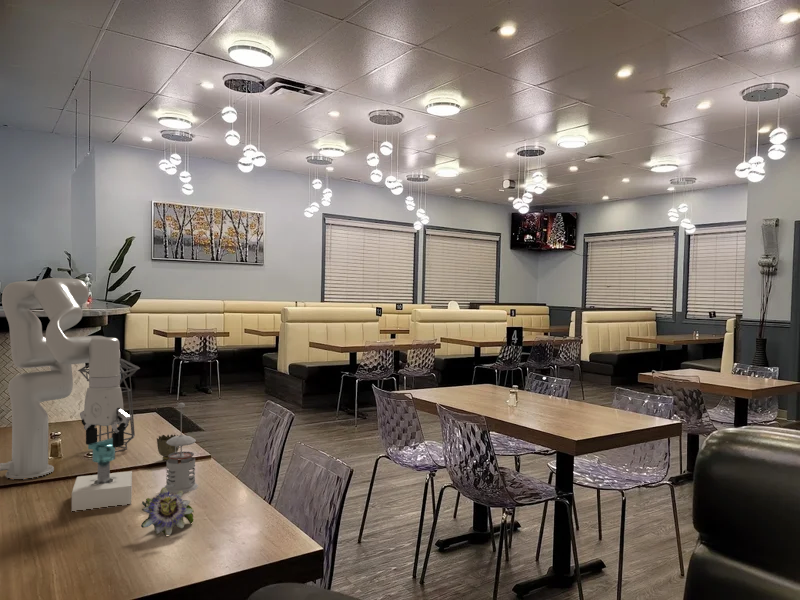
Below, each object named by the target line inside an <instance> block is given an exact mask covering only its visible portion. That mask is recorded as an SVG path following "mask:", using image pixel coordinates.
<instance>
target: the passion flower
mask: <svg viewBox="0 0 800 600" xmlns="http://www.w3.org/2000/svg"><path fill="white" fill-rule="evenodd" d="M164 487H165V486H163V487H162V488H161V489H160V490H159V491H160V492H159V493H158V495H156V496H155V497H153V498H149V497H147V498H145V500H144V501H145V502H144V501H143V500H142V501H141V502H142V503H141V504H142V505H143V506H144V507H143V508H142V509H141V511H142V512H144V513H146V514H148V517H147V518H146V519H145V520H143V522H141V526H140V527H141V528H148V527H149V526H151V525H153V526H154V533H155V535H156V536H158V535H160V534H161V533H163V534H164V536H165V535H170V534H171V535H172V532H173V528H174V527H177V528H178V529H184V527H185V522H184V518H185V519H186V520H187V521H188V522H189V524H191V523H192V522H194V520H195V519H194V514H193V513H195V512H194V508H193V507H192V506H191V505H190V503H191V500H189V499H184V498H182V497H183V494H184V493H183V492H182V491H179V492H177V493H170V492H168V491H167V489H166V488H164ZM192 524H193V523H192ZM192 524H191V525H192ZM171 535H170V536H171Z"/></svg>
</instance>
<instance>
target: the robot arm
mask: <svg viewBox="0 0 800 600" xmlns="http://www.w3.org/2000/svg"><path fill="white" fill-rule="evenodd" d="M1 294H2V295H1V304H2V309H3V312H4V315H5V317H6V320H7V322H8V327H9V338H10V339H9V340H10V352H11V359H12V363H13V365H14V366H15V367H17V368H20V369H32V368H33V369H35V368H45V367H46V368H47V367H49V369H50V370H43V371H42V370H41V371H33V372H30V371H29V372H25V373H21V374H17V375H14V377H12V378H11V379H10V381H9V383H8V388H7V389H8V396H9V399H10V405H11V406H10V407H11V419H12V420H11V429H12V430H11V460H10V461H9V460H8V461H7V462H0V471H6V473H5V478H6V479H8V478H13V479H12V480H14V479H23V480H25V479H24V478H32V479H34V478H33V477H37V478H39V477H38V476H42V477H44V476H43V475H45V476H47V475H46V474H48V475H50V474H52V473H53V472H54V471H55V468H54V466H53V465H52V464H49V414H48V412H47V410H46V409H44V407H43V406H42V405H41V403H44V402H47V401H56V400H61V399H62V400H63V399H66V398H67V397H69V396H70V395H71V393H72V392H73V387H74V380H73V367H72V365H78V364H79V365H81V364H89V367H88V369H89V370H88V371H89V374H88V379H89V381H88V387H87V389H86V391H85V396H84V405H83V407H84V409H83V410H81V412H79V417H80V420H81V424H82V425H83V429H84V430H85V444H86V445H87V446H88V444H92V443H95V442H98V436H97V435H98V428H97V426H101V427H107V426H108V427H109V426H111V429H112V428H113V431H115V432H113V447H114V448H115V449H116V448H120V447H119V446H122V447H124V442H125V440H124V439H125V434H124V432H125V431H126V430H127V428H128V427H129V423H130V419H131V417H132V416H131V417H130V414H128V413H127V412H126V411H124V409H125V408H124V399H123V392H122V388H121V387H122V386H121V384H120V379H121V374H120V372H121V370H120V365H121V364H120V358H121V357H120V356H121V355H120V353H121V351H120V349H121V348H120V343H121V342H120V340H119V339H118V338H117V337H107V336H103V335H89V336H88V335H84V336H70V337H69V336H66V335H65V334H64V331H67V330H68V329H71V328H72V327H74V326H76V325H77V324H78V323H79V322H80V321H81V320H82V318H83V314H84V313H83V309H82V306H83V305H85V304H86V303H87V302H88V300H89V297H90V296H89V295H90V290H89V287H88V286H87V284H86V283H85V282H84V281H83V280H82V279H78V278H71V277H70V278H67V277H66V278H65V277H63V278H62V277H47V278H44V279H41V280H39V281H38V280H36V281H35V280H34V281H33V280H29V281H28V280H25V281H24V280H22V281H21V280H20V281H14V282H10V283H8V284H7V285H6V286H5V287H4V288H3V291H2V293H1ZM31 309H42V310H43V311H44V313H45V315H46V316H47V317H48V319H49V321H48V322H49V323H48V324H47V327H46V330H45V336H44V334H43V325H42V322H41V320H40V319H39V317H38V316H37V314H35V312H33V311H32V310H31ZM51 472H52V473H51ZM49 473H50V474H49Z"/></svg>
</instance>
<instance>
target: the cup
mask: <svg viewBox="0 0 800 600" xmlns="http://www.w3.org/2000/svg"><path fill="white" fill-rule="evenodd" d="M175 436H179V434H175V433H174V434H170V435H169V434H167V435H165V434H162V435H158V437H156V445H157V451H158V453H159V455H160V456H161V457H162V460H163V461H164V460H168V459H170V458H168V455H169V454H171V453H175V446H171V445H168V444H167V443H166V442H167V441H168V440H169V439H171V438H172V437H175ZM177 447H180V446H177ZM177 447H176V452H179V448H177Z"/></svg>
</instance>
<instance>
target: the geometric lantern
mask: <svg viewBox="0 0 800 600" xmlns="http://www.w3.org/2000/svg"><path fill="white" fill-rule="evenodd" d="M124 369H126V371H124ZM140 369H141V367H139V366H138V365H135V364H133V363H132V362H129V361H127V360H125V359H123V358H121V357H120V375H121V374H122V378H120V385H121V384H122V383H124V386H125V387H122V386H120V387H121V389H125V390H123V391H122V390H121V391H122V393H127V401H128V403H127V404H128V411H129V412H128V413H129V415H130V417H131V419H130V421H129V423H130V433H129V432H125V431H124V435H125V434H126V435H128V436H130V437H127V438H124V445H125V446H124V445H123V446H119V447H118V448H122V449H118V450H115V453H118V452H121V451H125V450H128V443H130V441H132V439H134V438H135V437H136V435H135V421H134V420H135V418H134V410H133V409H134V408H133V407H134V406H133V405H134V404H133V393H132V382H131V381H132V379H131V377H132V376H133V374H135V373H136V372H137V371H138V370H140ZM77 372H79V373H81V375H82V376H83V377H84V378H85V379H86V381H87V382H89V363H87V365H84V366H83V367H82V368H80V369H78V370H77ZM84 373H85V374H84ZM128 377H129V385H130V386H129V387H128V384H127V381H126V380H125V379H127V378H128ZM98 426H99V425H98ZM98 429H99V434H97V437H98V442H99V441H102V436H104V435H106V436H107V437H106V439H110V434H111V438H113V433H115V431H114V430H113V428H112V427H111V431H109V430H110V429H109V426H106V432H104V433H102V426H99V427H98ZM117 451H118V452H117Z"/></svg>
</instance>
